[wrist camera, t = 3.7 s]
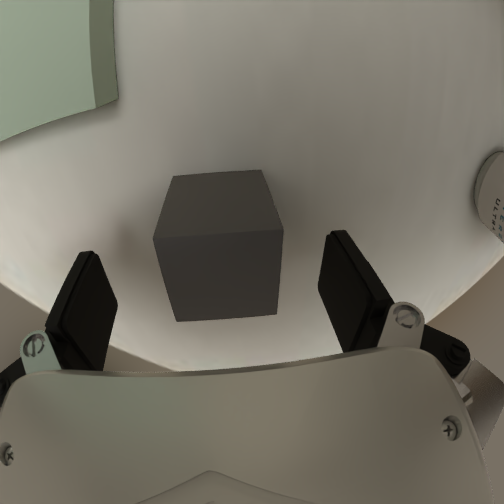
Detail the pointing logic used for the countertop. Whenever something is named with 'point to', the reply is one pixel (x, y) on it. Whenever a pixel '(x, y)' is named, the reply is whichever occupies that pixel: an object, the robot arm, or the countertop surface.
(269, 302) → the plug block
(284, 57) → the countertop surface
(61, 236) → the countertop surface
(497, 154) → the energy drink can
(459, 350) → the robot arm
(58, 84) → the outlet board
